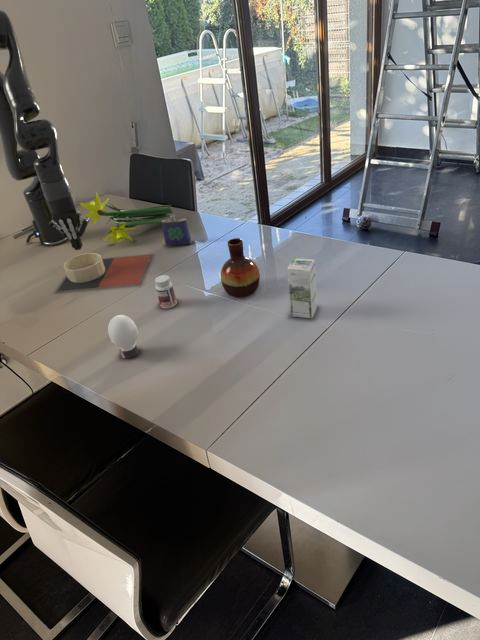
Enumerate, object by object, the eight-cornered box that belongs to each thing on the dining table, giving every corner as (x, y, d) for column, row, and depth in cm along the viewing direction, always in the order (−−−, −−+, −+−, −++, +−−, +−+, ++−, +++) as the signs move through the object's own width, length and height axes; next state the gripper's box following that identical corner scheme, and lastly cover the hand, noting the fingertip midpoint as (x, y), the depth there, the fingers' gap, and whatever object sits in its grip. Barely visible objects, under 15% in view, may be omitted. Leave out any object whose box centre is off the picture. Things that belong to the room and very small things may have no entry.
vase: (267, 283, 139) (262, 234, 130) (251, 303, 131) (244, 252, 122) (234, 279, 143) (226, 231, 134) (216, 298, 135) (207, 248, 126)
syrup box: (317, 307, 126) (315, 258, 117) (312, 320, 122) (309, 269, 113) (296, 305, 128) (293, 256, 119) (290, 317, 124) (286, 268, 115)
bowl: (63, 284, 151) (58, 271, 149) (75, 266, 161) (70, 254, 158) (99, 281, 150) (95, 268, 148) (109, 263, 160) (105, 251, 157)
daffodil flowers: (187, 228, 180) (101, 238, 157) (168, 241, 191) (85, 252, 168) (173, 185, 179) (84, 188, 156) (155, 200, 190) (69, 206, 167)
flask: (192, 241, 168) (186, 212, 162) (191, 245, 166) (184, 215, 159) (167, 243, 169) (159, 214, 162) (165, 247, 167) (158, 218, 160)
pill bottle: (170, 298, 138) (163, 272, 133) (180, 303, 135) (173, 277, 130) (157, 305, 136) (149, 279, 131) (166, 310, 133) (159, 284, 128)
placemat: (57, 292, 148) (57, 291, 148) (78, 262, 164) (77, 261, 164) (139, 285, 147) (138, 283, 146) (151, 255, 162) (151, 254, 162)
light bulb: (119, 365, 115) (105, 328, 108) (114, 350, 120) (101, 314, 113) (146, 356, 117) (134, 319, 110) (140, 342, 122) (129, 306, 115)
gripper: (84, 188, 142) (102, 241, 153) (41, 192, 143) (62, 245, 154) (76, 196, 136) (95, 252, 147) (31, 201, 137) (54, 256, 148)
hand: (78, 248), depth 150 cm, fingers closed
